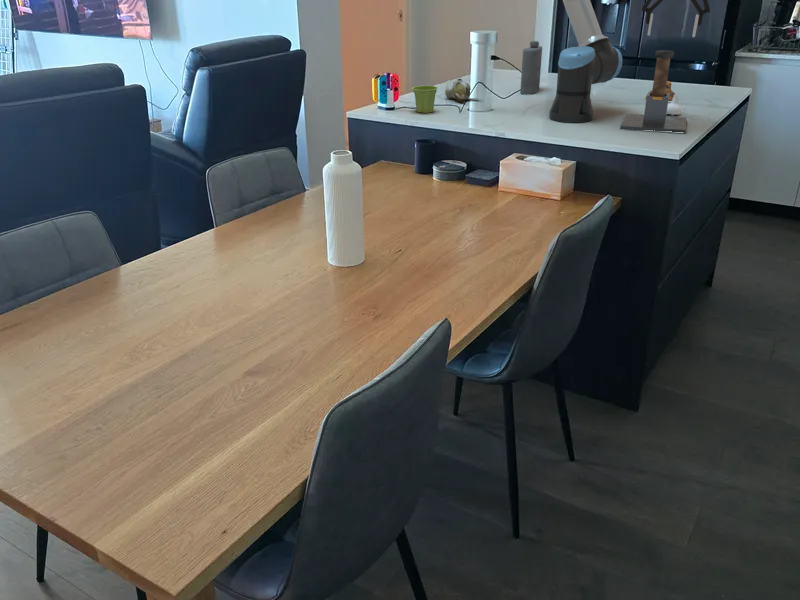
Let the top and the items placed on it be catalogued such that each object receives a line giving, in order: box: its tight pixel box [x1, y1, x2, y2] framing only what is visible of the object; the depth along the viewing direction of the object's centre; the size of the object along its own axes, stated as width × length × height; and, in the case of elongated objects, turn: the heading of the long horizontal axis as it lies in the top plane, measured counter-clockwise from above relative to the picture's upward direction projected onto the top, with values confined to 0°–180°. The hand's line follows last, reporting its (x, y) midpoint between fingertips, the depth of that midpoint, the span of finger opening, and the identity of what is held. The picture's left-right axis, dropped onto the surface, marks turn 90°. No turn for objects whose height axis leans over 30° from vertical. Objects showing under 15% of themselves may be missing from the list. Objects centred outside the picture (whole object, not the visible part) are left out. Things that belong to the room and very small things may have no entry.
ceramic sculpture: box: [444, 78, 472, 102], centre depth 276 cm, size 11×9×15 cm
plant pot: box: [411, 85, 439, 114], centre depth 258 cm, size 9×9×9 cm
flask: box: [519, 40, 543, 96], centre depth 288 cm, size 15×6×20 cm, turn 155°
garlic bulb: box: [666, 91, 682, 115], centre depth 248 cm, size 6×6×8 cm
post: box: [651, 49, 675, 96], centre depth 229 cm, size 6×6×22 cm
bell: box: [645, 80, 675, 101], centre depth 272 cm, size 12×12×7 cm
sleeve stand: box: [619, 91, 688, 133], centre depth 233 cm, size 20×20×10 cm
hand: (670, 35), depth 223 cm, fingers open, 13 cm apart
